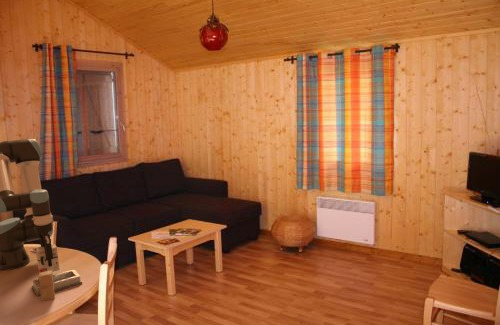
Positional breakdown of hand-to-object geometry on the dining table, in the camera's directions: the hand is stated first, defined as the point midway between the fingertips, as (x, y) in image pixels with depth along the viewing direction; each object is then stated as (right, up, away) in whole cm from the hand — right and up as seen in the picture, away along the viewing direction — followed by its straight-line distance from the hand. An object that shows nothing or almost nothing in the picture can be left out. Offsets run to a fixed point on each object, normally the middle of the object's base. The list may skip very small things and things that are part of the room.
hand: (49, 270), depth 195 cm
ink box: (0, -1, 0) cm, 1 cm away
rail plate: (+9, -4, -11) cm, 15 cm away
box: (+11, -6, -23) cm, 26 cm away
